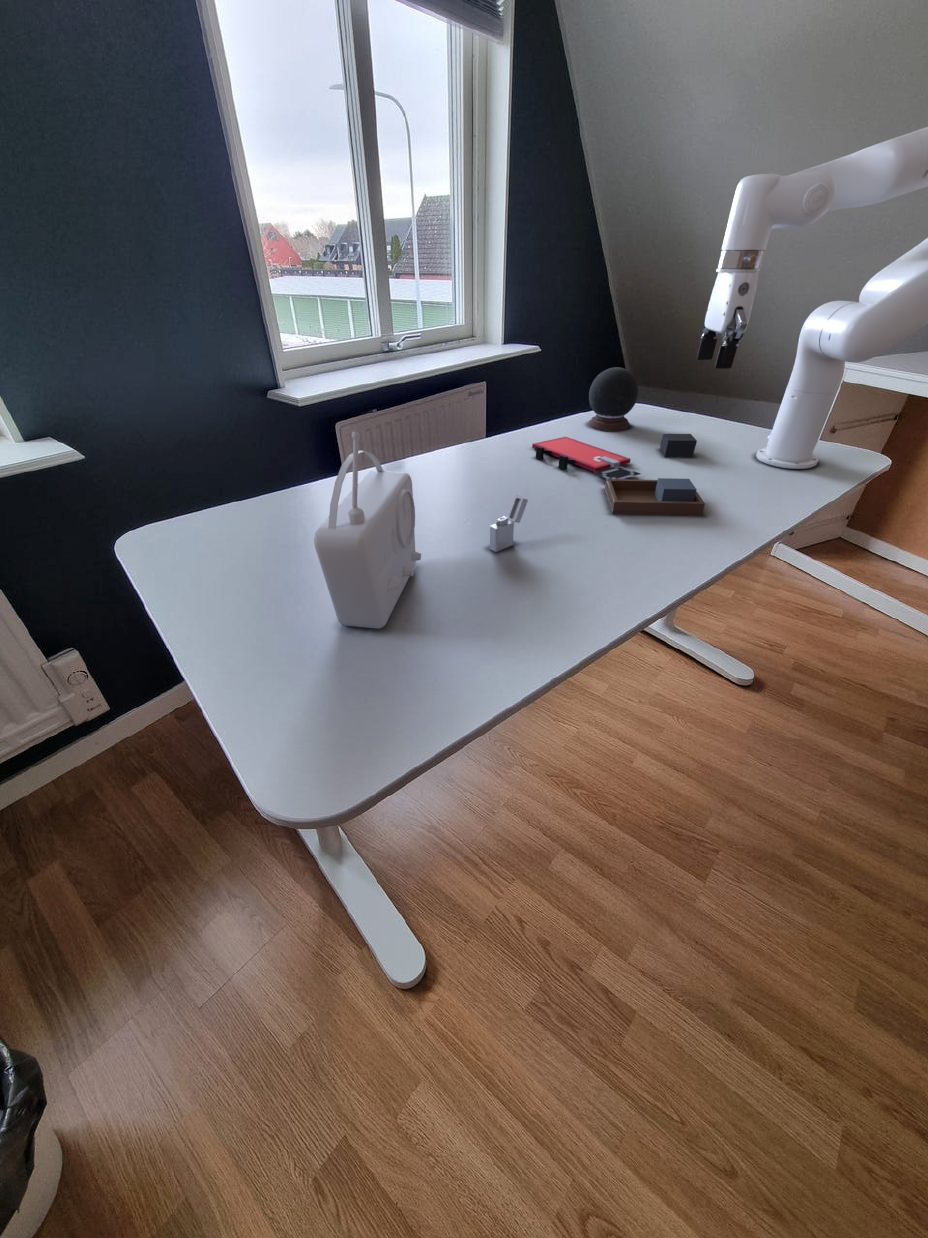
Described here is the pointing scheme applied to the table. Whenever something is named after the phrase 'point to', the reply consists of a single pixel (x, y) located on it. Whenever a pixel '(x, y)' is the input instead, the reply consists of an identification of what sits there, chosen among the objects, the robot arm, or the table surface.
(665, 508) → the brown wooden tray
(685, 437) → the black block
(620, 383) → the dark sphere on stand
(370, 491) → the radio
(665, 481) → the pad
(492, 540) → the lighter
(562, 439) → the red board with handle
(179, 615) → the table surface
